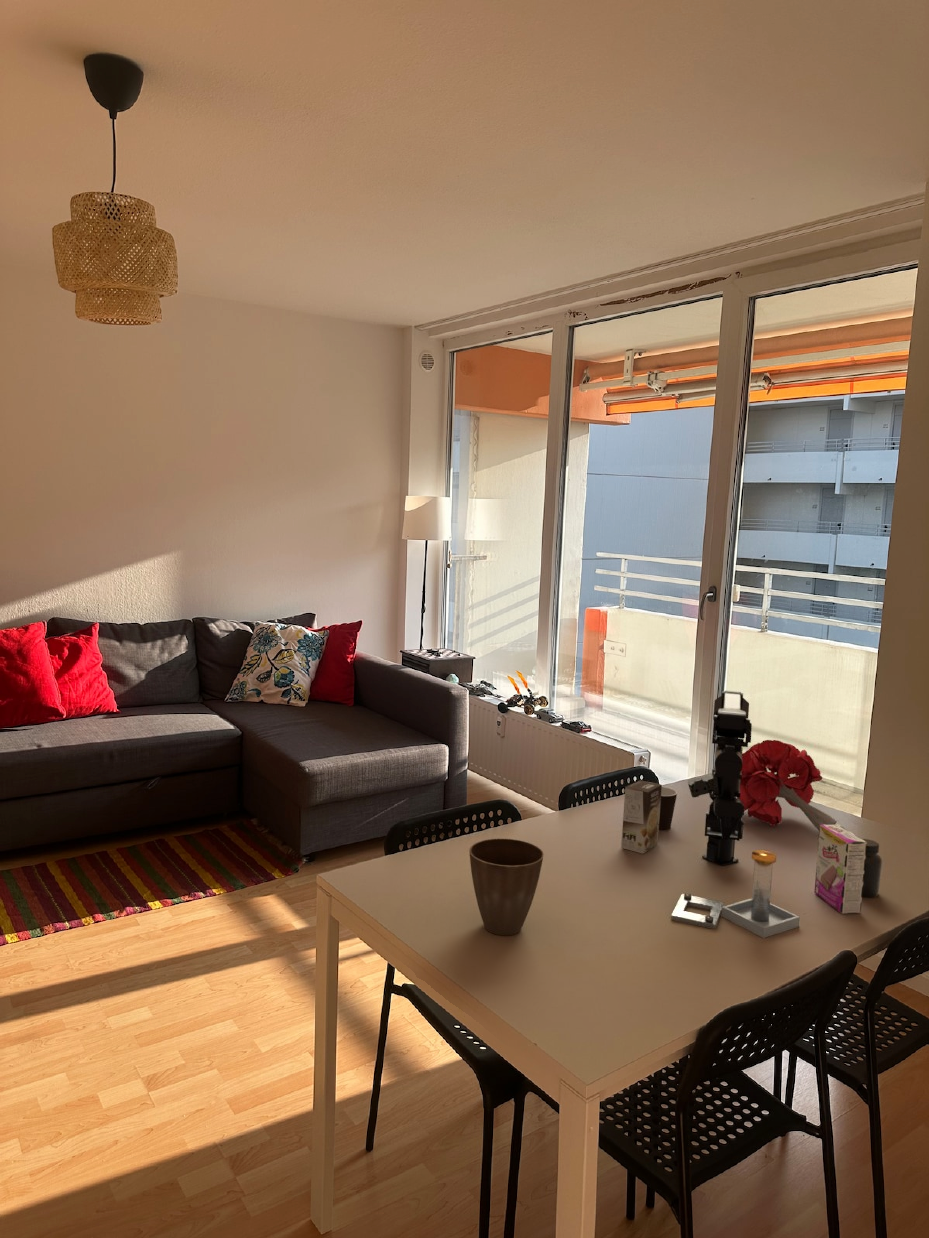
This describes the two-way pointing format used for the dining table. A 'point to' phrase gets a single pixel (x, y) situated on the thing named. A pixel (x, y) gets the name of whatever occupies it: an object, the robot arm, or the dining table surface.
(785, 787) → the bouquet
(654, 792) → the coffee box
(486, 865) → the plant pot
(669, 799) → the coffee mug
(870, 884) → the supplement bottle
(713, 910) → the plate
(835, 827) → the candy bar box
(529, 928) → the dining table surface
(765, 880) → the orange capped tube
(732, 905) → the tray
